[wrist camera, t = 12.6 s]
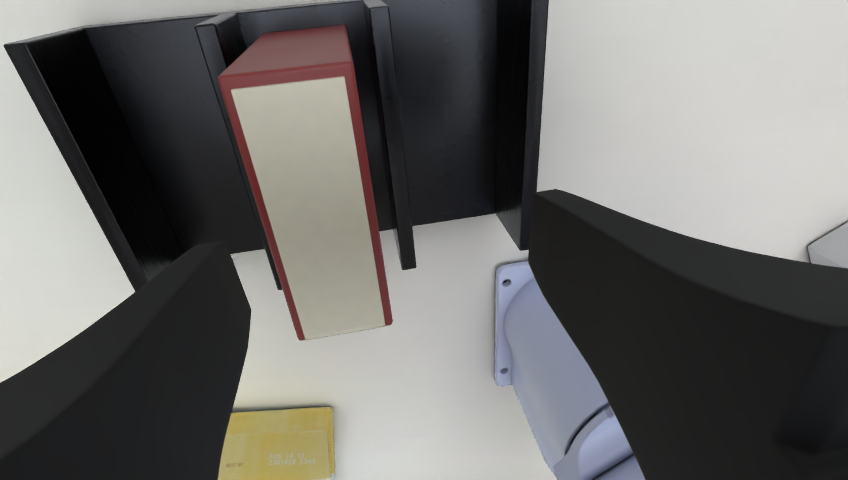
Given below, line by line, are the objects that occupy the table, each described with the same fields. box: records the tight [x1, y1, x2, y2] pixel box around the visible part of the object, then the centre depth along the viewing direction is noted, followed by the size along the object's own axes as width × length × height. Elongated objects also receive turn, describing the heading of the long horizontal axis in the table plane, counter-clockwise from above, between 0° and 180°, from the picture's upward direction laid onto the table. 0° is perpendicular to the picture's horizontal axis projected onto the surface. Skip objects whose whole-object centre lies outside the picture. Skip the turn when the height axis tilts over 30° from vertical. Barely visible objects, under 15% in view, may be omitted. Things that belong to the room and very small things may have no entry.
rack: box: [4, 0, 549, 292], centre depth 17 cm, size 10×16×4 cm, turn 95°
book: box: [218, 25, 393, 340], centre depth 15 cm, size 8×3×8 cm, turn 4°
